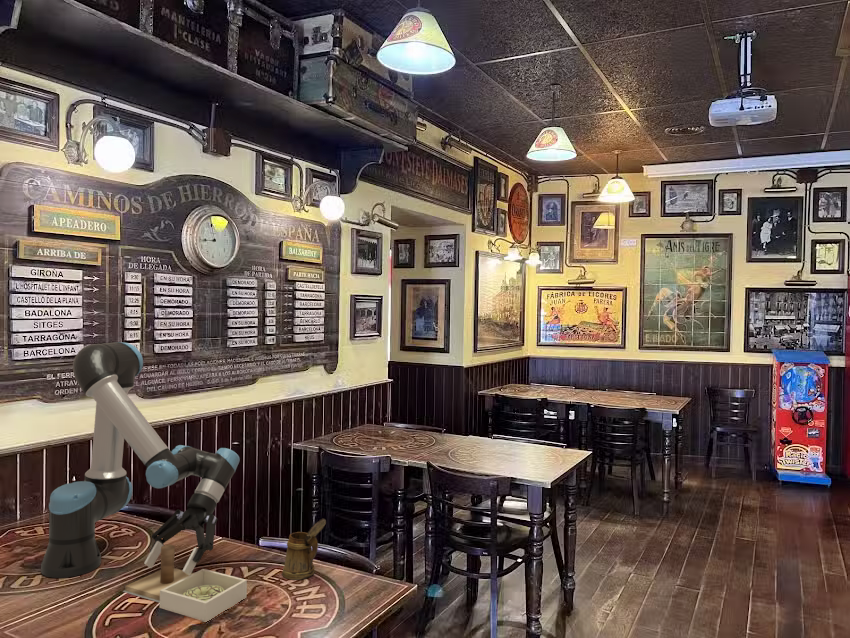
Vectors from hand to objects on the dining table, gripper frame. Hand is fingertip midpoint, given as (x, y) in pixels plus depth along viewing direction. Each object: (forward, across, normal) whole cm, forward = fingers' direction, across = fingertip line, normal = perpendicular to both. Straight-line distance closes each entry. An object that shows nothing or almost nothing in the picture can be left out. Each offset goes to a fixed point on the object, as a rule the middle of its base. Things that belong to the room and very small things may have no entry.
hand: (166, 569), depth 169 cm
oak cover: (+2, +2, -5) cm, 6 cm away
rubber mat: (+3, +2, -5) cm, 6 cm away
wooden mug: (-12, -27, -23) cm, 37 cm away
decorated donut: (+6, -14, -4) cm, 15 cm away
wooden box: (+5, -14, -4) cm, 15 cm away
